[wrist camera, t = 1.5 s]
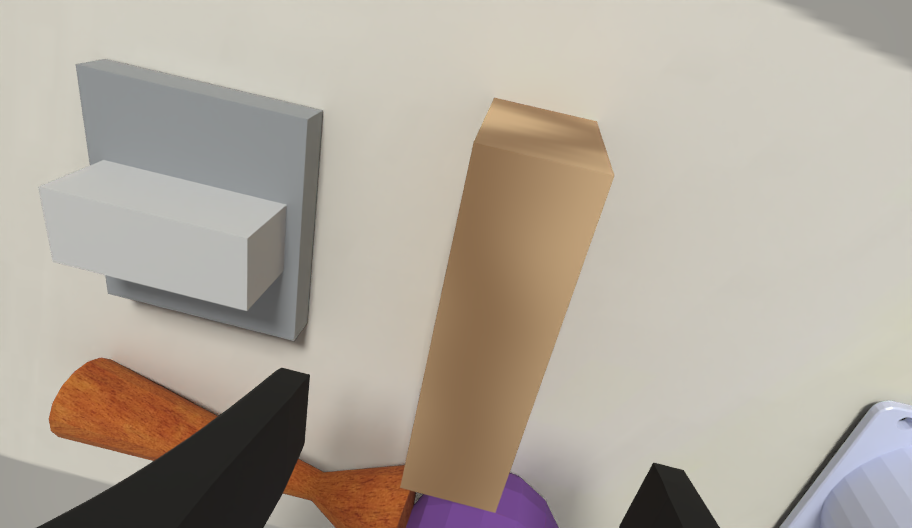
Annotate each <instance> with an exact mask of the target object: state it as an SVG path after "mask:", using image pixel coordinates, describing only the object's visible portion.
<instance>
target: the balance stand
mask: <svg viewBox="0 0 912 528" xmlns="http://www.w3.org/2000/svg"><path fill="white" fill-rule="evenodd" d="M76 70H77V77H78V84H79V92H80V99H81V106H82V113H83V120H84V127H85V134H86V141H87V148H88V155H89V162H90V166H88V167H85V168H83V169H80V170H78V171H75V172H73V173H70V174H68V175H65V176H63V177H61V178H58V179H56V180H53V181H51V182H48V183H46V184H43V185H41V186H38V188H39V193H40V198H41V204H42V209H43V214H44V219H45V224H46V229H47V235H48V240H49V245H50V250H51V255H52V260H53V262H56V263H59V264H63V265H67V266H71V267H75V268H79V269H83V270H87V271H91V272H95V273H99V274H103V275H105V276H106V283H107V290H108V294H112V295H116V296H119V297H123V298H127V299H131V300H135V301H139V302H143V303H147V304H151V305H155V306H159V307H163V308H166V309H170V310H174V311H178V312H182V313H186V314H190V315H194V316H198V317H202V318H206V319H210V320H213V321H217V322H221V323H225V324H229V325H233V326H237V327H241V328H245V329H249V330H253V331H257V332H260V333H264V334H268V335H272V336H276V337H280V338H284V339H288V340H292V341H295V339H296V338H297V336H298V335H299V334H300V332H301V331H302V329H303V328H304V326H305V325H306V324H307V321H308V307H309V293H310V280H311V266H312V252H313V239H314V225H315V211H316V198H317V184H318V170H319V156H320V143H321V129H322V115H323V110H319V109H315V108H311V107H306V106H302V105H298V104H294V103H289V102H285V101H281V100H277V99H273V98H268V97H264V96H260V95H256V94H251V93H247V92H243V91H239V90H234V89H230V88H226V87H222V86H218V85H213V84H209V83H205V82H201V81H196V80H192V79H188V78H184V77H179V76H175V75H171V74H167V73H163V72H158V71H154V70H150V69H146V68H141V67H137V66H133V65H129V64H124V63H120V62H116V61H112V60H108V59H102V60H97V61H91V62H86V63H80V64H76Z"/></svg>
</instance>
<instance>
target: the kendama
mask: <svg viewBox="0 0 912 528" xmlns="http://www.w3.org/2000/svg"><path fill="white" fill-rule="evenodd" d="M216 417H218V416H216V415H214V414H213V413H211V412H209V411H207V410H205V409H203V408H201V407H199V406H197V405H196V404H194V403H192V402H190V401H188V400H186V399H184V398H182V397H180V396H179V395H177V394H175V393H173V392H171V391H169V390H167V389H165V388H163V387H161V386H160V385H158V384H156V383H154V382H152V381H150V380H148V379H146V378H144V377H143V376H141V375H139V374H137V373H135V372H133V371H131V370H129V369H127V368H126V367H124V366H122V365H120V364H118V363H116V362H114V361H112V360H110V359H106V358H98V359H95V360H92V361H89V362H87V363H86V364H84V365H83V366H82V367H80V368H79V369H77V370H76V371H75V372H74V373H73V374H72V375H71V376H70V377H69V379H68V380H67V381H66V382H65V383H64V384H63V385H62V387H61V389H60V390H59V392H58V394H57V396H56V398H55V400H54V401H53V404H52V408H51V412H50V416H49V423H50V428H51V431H52V432H53V433H54V434H55V435H57V436H58V437H61V438H65V439H69V440H73V441H77V442H81V443H85V444H89V445H93V446H97V447H101V448H105V449H109V450H113V451H117V452H120V453H124V454H128V455H132V456H136V457H140V458H144V459H148V460H152V461H155V460H156V459H158V458H159V457H161V456H162V455H164V454H165V453H167V452H168V451H170V450H171V449H173V448H174V447H176V446H177V445H179V444H180V443H182V442H183V441H185V440H186V439H187V438H189V437H190V436H192V435H193V434H195V433H196V432H197V431H199V430H200V429H201V428H203V427H204V426H206V425H207V424H208V423H210V422H211V421H212V420H214V419H215V418H216ZM404 467H405V465H400V466H389V467H378V468H367V469H355V470H344V471H333V472H322V471H321V470H319V469H317V468H315V467H313V466H311V465H309V464H307V463H305V462H303V461H302V460H300V459H298V460H297V463H296V465H295V468H294V470H293V472H292V474H291V477H290V479H289V481H288V483H287V486H286V488H285V490H284V492H283V494H287V495H291V496H295V497H299V498H303V499H307V500H311V501H313V503H314V504H315V505H316V506H317V507H318V508H319V509H320V511H321V512H322V513H323V514H324V515H325V516H326V517H327V519H328V520H329V521H330V522H331V523H332V524H333V525H334V526H335V528H558V526H557V524H556V521H555V519H554V517H553V515H552V513H551V511H550V509H549V507H548V505H547V503H546V501H545V500H544V499H543V498H542V497H541V496H540V495H539V494H538V493H537V492H536V491H535V490H533V489H532V488H531V487H530V486H529V485H528V484H527V483H526V482H525V481H524V480H523V479H522V478H520V477H519V476H517V475H515V474H512V473H509V475H508V478H507V481H506V484H505V487H504V490H503V492H502V495H501V498H500V501H499V504H498V507H497V509H496V512H495V513H494V512H490V511H486V510H482V509H479V508H475V507H471V506H467V505H464V504H460V503H456V502H452V501H448V500H445V499H441V498H437V497H433V496H430V495H426V494H423V495H422V496H421V497H420V498H419V500H418V501H417V502H416V503H415V504H414V501H415V495H416V492H414V491H411V490H407V489H403V488H400V486H401V481H402V476H403V472H404Z"/></svg>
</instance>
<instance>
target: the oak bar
mask: <svg viewBox="0 0 912 528" xmlns="http://www.w3.org/2000/svg"><path fill="white" fill-rule="evenodd" d="M613 178H614V173H613V170H612V167H611V164H610V161H609V158H608V155H607V151H606V148H605V145H604V142H603V139H602V136H601V133H600V130H599V127H598V124H597V121H592V120H588V119H584V118H579V117H575V116H571V115H567V114H562V113H558V112H554V111H549V110H545V109H541V108H536V107H532V106H528V105H523V104H519V103H515V102H511V101H506V100H502V99H498V98H494V100H493V102H492V104H491V106H490V108H489V110H488V113H487V115H486V117H485V119H484V121H483V123H482V126H481V128H480V130H479V132H478V134H477V136H476V138H475V141H474V143H473V148H472V153H471V157H470V162H469V167H468V171H467V176H466V181H465V185H464V190H463V195H462V200H461V204H460V209H459V214H458V218H457V223H456V228H455V232H454V237H453V242H452V246H451V251H450V256H449V261H448V265H447V270H446V275H445V279H444V284H443V289H442V293H441V298H440V303H439V307H438V312H437V317H436V322H435V326H434V331H433V336H432V340H431V345H430V350H429V354H428V359H427V364H426V369H425V373H424V378H423V383H422V387H421V392H420V397H419V401H418V406H417V411H416V415H415V420H414V425H413V430H412V434H411V439H410V444H409V448H408V453H407V458H406V462H405V467H404V472H403V476H402V481H401V486H400V488H403V489H407V490H411V491H414V492H418V493H422V494H426V495H430V496H433V497H437V498H441V499H445V500H448V501H452V502H456V503H460V504H464V505H467V506H471V507H475V508H479V509H482V510H486V511H490V512H494V513H495V512H496V509H497V507H498V504H499V501H500V498H501V495H502V492H503V490H504V487H505V484H506V481H507V478H508V475H509V473H510V470H511V467H512V464H513V461H514V459H515V456H516V453H517V450H518V447H519V444H520V442H521V439H522V436H523V433H524V430H525V427H526V425H527V422H528V419H529V416H530V413H531V410H532V408H533V405H534V402H535V399H536V396H537V393H538V391H539V388H540V385H541V382H542V379H543V376H544V374H545V371H546V368H547V365H548V362H549V359H550V357H551V354H552V351H553V348H554V345H555V342H556V340H557V337H558V334H559V331H560V328H561V325H562V323H563V320H564V317H565V314H566V311H567V308H568V306H569V303H570V300H571V297H572V294H573V291H574V289H575V286H576V283H577V280H578V277H579V274H580V272H581V269H582V266H583V263H584V260H585V257H586V255H587V252H588V249H589V246H590V243H591V240H592V238H593V235H594V232H595V229H596V226H597V223H598V221H599V218H600V215H601V212H602V209H603V206H604V204H605V201H606V198H607V195H608V192H609V189H610V187H611V184H612V181H613Z"/></svg>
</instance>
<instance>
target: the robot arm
mask: <svg viewBox="0 0 912 528" xmlns="http://www.w3.org/2000/svg"><path fill="white" fill-rule="evenodd" d="M309 380H310V375H309V374H305V373H301V372H297V371H293V370H289V369H285V368H280V369H278V370H277V371H275V372H274V373H273V374H272V375H270V376H269V377H268V378H267V379H265V380H264V381H263V382H262V383H260V384H259V385H258V386H257V387H255V388H254V389H253V390H252V391H250V392H249V393H248V394H247V395H245V396H244V397H243V398H242V399H240V400H239V401H238V402H236V403H235V404H234V405H232V406H231V407H230V408H229V409H227V410H226V411H225V412H223V413H222V414H221V415H219V416H218V417H216V418H215V419H214V420H212V421H211V422H210V423H208V424H207V425H206V426H204V427H203V428H201V429H200V430H199V431H197V432H196V433H195V434H193V435H192V436H190V437H189V438H187V439H186V440H185V441H183V442H182V443H180V444H179V445H177V446H176V447H174V448H173V449H171V450H170V451H168V452H167V453H165V454H164V455H162V456H161V457H159V458H158V459H156V460H155V461H153V462H152V463H150V464H148V465H147V466H145V467H144V468H142V469H141V470H139V471H137V472H136V473H134V474H132V475H131V476H129V477H128V478H126V479H124V480H123V481H121V482H119V483H118V484H116V485H114V486H112V487H111V488H109V489H107V490H105V491H104V492H102V493H100V494H99V495H97V496H95V497H93V498H92V499H90V500H88V501H86V502H84V503H82V504H81V505H79V506H77V507H75V508H73V509H71V510H69V511H68V512H65V513H64V514H62V515H60V516H58V517H56V518H54V519H52V520H50V521H48V522H47V523H45V524H43V525H41V526H39V527H37V528H263V527H264V526H265V524H266V522H267V520H268V519H269V517H270V515H271V513H272V512H273V510H274V508H275V506H276V505H277V503H278V501H279V499H280V497H281V496H282V494H283V492H284V490H285V488H286V486H287V483H288V481H289V479H290V477H291V474H292V472H293V470H294V468H295V465H296V463H297V460H298V458H299V456H300V453H301V451H302V449H303V446H304V443H305V430H306V418H307V405H308V393H309ZM906 417H907V418H906ZM902 418H906V419H904V420H901V419H902ZM899 420H901V421H899ZM619 528H720V527H719V526H718V524H717V522H716V521H715V519H714V518H713V516H712V515H711V513H710V511H709V510H708V508H707V507H706V505H705V503H704V502H703V500H702V499H701V497H700V495H699V494H698V492H697V491H696V489H695V487H694V486H693V484H692V483H691V481H690V479H689V478H688V476H687V475H686V473H685V472H684V470H681V469H677V468H673V467H669V466H665V465H661V464H657V463H653V464H652V466H651V468H650V470H649V472H648V474H647V476H646V477H645V479H644V481H643V483H642V485H641V487H640V489H639V490H638V492H637V494H636V496H635V498H634V500H633V502H632V503H631V505H630V507H629V509H628V511H627V513H626V515H625V517H624V518H623V520H622V522H621V524H620V526H619ZM779 528H912V406H911V405H907V404H903V403H899V402H895V401H882V402H879V403H877V404H875V405H873V406H872V407H871V408H870V409H869V411H868V412H867V413H866V415H865V416H864V417H863V418H862V420H861V421H860V422H859V424H858V425H857V426H856V428H855V429H854V430H853V432H852V433H851V434H850V436H849V437H848V438H847V439H846V441H845V442H844V443H843V445H842V446H841V447H840V449H839V450H838V451H837V453H836V454H835V455H834V457H833V458H832V459H831V460H830V462H829V463H828V464H827V466H826V467H825V468H824V470H823V471H822V472H821V474H820V475H819V476H818V477H817V479H816V480H815V481H814V483H813V484H812V485H811V487H810V488H809V489H808V491H807V492H806V493H805V495H804V496H803V497H802V498H801V500H800V501H799V502H798V504H797V505H796V506H795V508H794V509H793V510H792V512H791V513H790V514H789V516H788V517H787V518H786V519H785V521H784V522H783V523H782V525H781V526H780V527H779Z"/></svg>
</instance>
